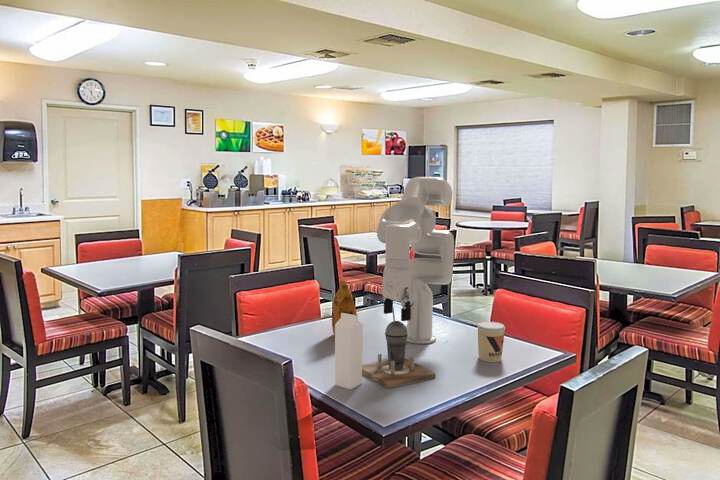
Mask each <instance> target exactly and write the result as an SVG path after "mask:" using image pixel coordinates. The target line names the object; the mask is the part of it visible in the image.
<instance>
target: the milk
mask: <svg viewBox="0 0 720 480" xmlns="http://www.w3.org/2000/svg"><path fill="white" fill-rule="evenodd" d="M357 320H358V315H357V316H356V315H351V314H346V313H341V318H340V319H339V321H338V322H337V323H336V324H335V336H334V385H335V386H337V387H341V388H343V389H347V390H352V389H355V388H357V387H359V386H360V385H362V384H363V373H362V365H363V323H362V322H360V321H359V320H358V321H357Z"/></svg>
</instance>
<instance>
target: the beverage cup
mask: <svg viewBox="0 0 720 480" xmlns="http://www.w3.org/2000/svg"><path fill="white" fill-rule="evenodd" d="M392 320H393V321H391V322H390V323H388V325H387V326H386V328H385V333H384V336H385V340H386V348H387V349H386V350H387V360H388V363H389V369H390V370H391V361H395V371H401V370H403V365H404V358H405V354H406V345H407V343H406V342H407V341H406V340H407V335H408V333H407V329H406V325H405V323H403V321H399V320H396V317H395V308H394V307H393V308H392Z"/></svg>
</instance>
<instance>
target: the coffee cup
mask: <svg viewBox="0 0 720 480" xmlns="http://www.w3.org/2000/svg"><path fill="white" fill-rule="evenodd" d="M476 328H477V345H478V346H477V347H478V349H477V350H478V359H479V360H481V361H482V362H486V363H487V362H488V363H499V362H501V361H502V357H503V348H504V339H505V330H506V327H505V325H504V324H503V323H501V322H497V321H496V322H495V321H481V322H479V323H478V324H477V326H476Z"/></svg>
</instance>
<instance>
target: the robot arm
mask: <svg viewBox="0 0 720 480" xmlns="http://www.w3.org/2000/svg"><path fill="white" fill-rule="evenodd" d="M452 198H453V189H452V186H451V185H450V183H449V182H448V181H447V180H446V179H445V178H443V177H439V176H415V177H412V178H411V179H409V180H408V181H407V183H406V186H405V189H404V191H403V194H402V197H401V200H399V201H398V202H396V203H394V204H392V205H391V206H389V207H388V208H386V209H385V210H384V211H383V213H382V214H381V215H380V216H381V217H380V219H379V221H378V223H377V228H376V237H377V239H378V241H379V242H380V243H382V244H385V259H384V260H385V266H384V269H383V274H382V283H381V284H382V285H380V290H381V295H382V301H383V314H385V315H387V314H393V312H392V308H394V302H396V303H399V302H400V305H401V308H400V314H401V315H400V320H401V321H400V322H406V323H407V324H406V325H405V326H406V329H407V333H408V335H407V340H406V342H407V343H410V344H415V345H416V344H419V345H423V344H424V345H426V344H431V343H434V342H435V341H436V340H437V337H436V335H435V334H433V315H434V314H433V307H434V295H433V292H432V290H431V288H430V287H429V285H440V286H442V285H446V286H447V285H449V284H450V283H451V282H452V279H453V271H454V270H453V269H454V256H455V255H454V253H455V251H454V250H455V239H454V235H453V234H452V232H451V231H449V230H440V229H437V230H436V221H437V219H436V215H435V214H434V212H433V211H432V209H431V208H430V207H431V206H432V207H433V206H438V207H446V206H448V205H450V204H451V202H452V200H453V199H452ZM411 220H413V221H411ZM410 246H411V248H410ZM411 249H412V252H413V253H414V254H417V255H425V256H438V257H439V256H440V258H430V257H429V258H427V257H426V258H424V257H413V258H411V259H410V255H411V254H410V252H411V251H410V250H411ZM405 302H406V303H405Z"/></svg>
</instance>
